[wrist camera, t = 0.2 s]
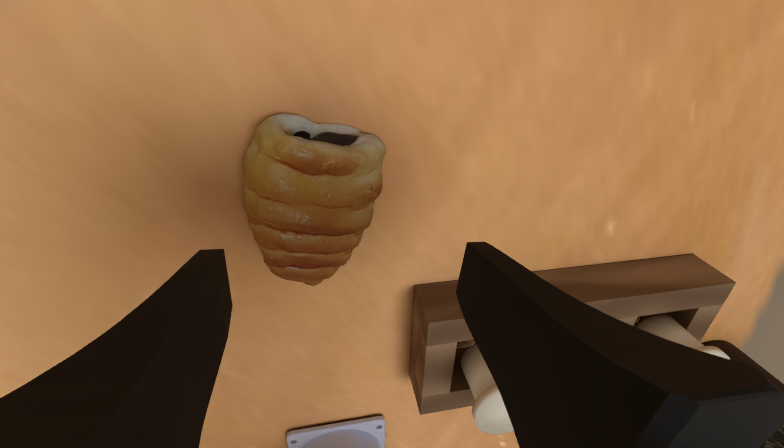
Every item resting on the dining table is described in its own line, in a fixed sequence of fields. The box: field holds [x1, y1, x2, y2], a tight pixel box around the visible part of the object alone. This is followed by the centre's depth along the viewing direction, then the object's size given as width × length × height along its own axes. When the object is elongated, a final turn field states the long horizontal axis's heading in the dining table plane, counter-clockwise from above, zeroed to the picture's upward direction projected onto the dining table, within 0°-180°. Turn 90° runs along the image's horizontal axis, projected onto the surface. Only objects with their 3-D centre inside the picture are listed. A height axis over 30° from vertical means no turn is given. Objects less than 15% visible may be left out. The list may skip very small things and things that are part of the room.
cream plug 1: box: [461, 344, 514, 434], centre depth 24 cm, size 5×5×4 cm
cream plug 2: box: [636, 314, 730, 359], centre depth 27 cm, size 5×5×4 cm
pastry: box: [243, 113, 386, 286], centre depth 20 cm, size 9×7×4 cm
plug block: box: [409, 254, 736, 415], centre depth 28 cm, size 9×22×4 cm, turn 89°
